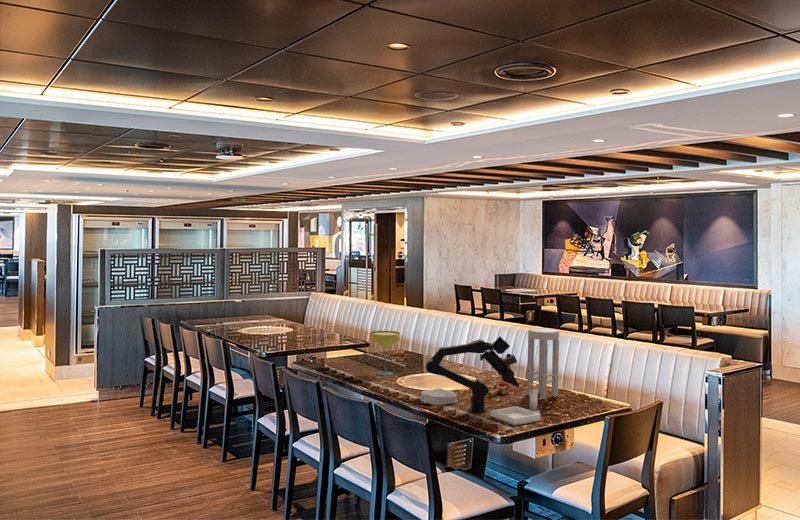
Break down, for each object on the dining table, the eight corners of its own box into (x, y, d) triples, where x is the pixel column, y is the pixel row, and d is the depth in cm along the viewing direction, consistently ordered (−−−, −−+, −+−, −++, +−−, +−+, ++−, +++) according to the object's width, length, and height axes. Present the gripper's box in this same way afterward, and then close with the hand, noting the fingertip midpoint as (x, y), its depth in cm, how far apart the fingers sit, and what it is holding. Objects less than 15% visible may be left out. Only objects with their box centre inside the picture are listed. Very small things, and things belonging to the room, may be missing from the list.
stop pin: (524, 412, 311) (524, 383, 310) (533, 410, 314) (534, 382, 314) (533, 414, 306) (533, 386, 305) (542, 413, 309) (543, 385, 308)
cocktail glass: (393, 378, 384) (394, 335, 383) (365, 375, 390) (366, 333, 389) (404, 372, 400) (404, 332, 400) (377, 370, 407) (377, 330, 406)
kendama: (497, 401, 337) (513, 390, 351) (495, 389, 337) (511, 379, 351) (485, 401, 342) (501, 391, 356) (482, 390, 342) (498, 379, 356)
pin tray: (490, 416, 301) (490, 410, 301) (516, 412, 310) (516, 406, 309) (513, 425, 288) (513, 418, 287) (540, 420, 296) (540, 414, 296)
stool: (563, 396, 343) (564, 330, 342) (544, 400, 333) (545, 333, 332) (540, 391, 355) (541, 327, 354) (521, 395, 346) (522, 329, 345)
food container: (413, 398, 337) (413, 385, 337) (448, 395, 344) (448, 382, 344) (428, 408, 318) (428, 394, 318) (465, 404, 325) (465, 391, 325)
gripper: (509, 352, 300) (533, 376, 300) (504, 346, 319) (526, 369, 319) (492, 369, 301) (515, 393, 301) (488, 361, 320) (510, 384, 319)
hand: (517, 384), depth 310 cm, fingers open, 9 cm apart
